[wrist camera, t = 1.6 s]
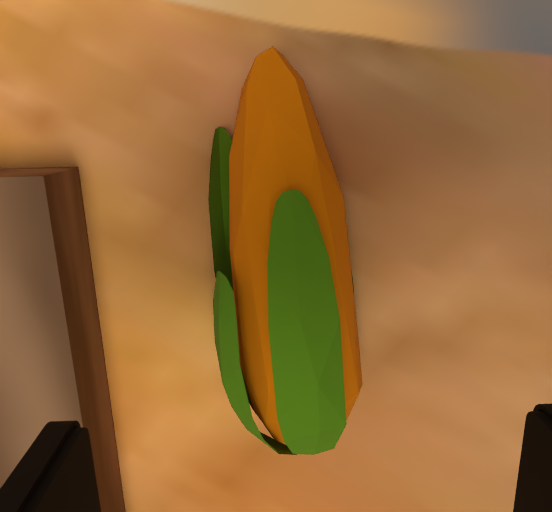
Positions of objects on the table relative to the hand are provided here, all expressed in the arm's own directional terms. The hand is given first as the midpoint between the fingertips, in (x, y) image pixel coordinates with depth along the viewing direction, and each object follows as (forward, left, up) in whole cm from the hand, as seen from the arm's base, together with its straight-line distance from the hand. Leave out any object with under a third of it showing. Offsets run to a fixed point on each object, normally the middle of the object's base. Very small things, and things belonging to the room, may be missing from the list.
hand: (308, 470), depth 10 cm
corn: (0, 0, -17) cm, 17 cm away
